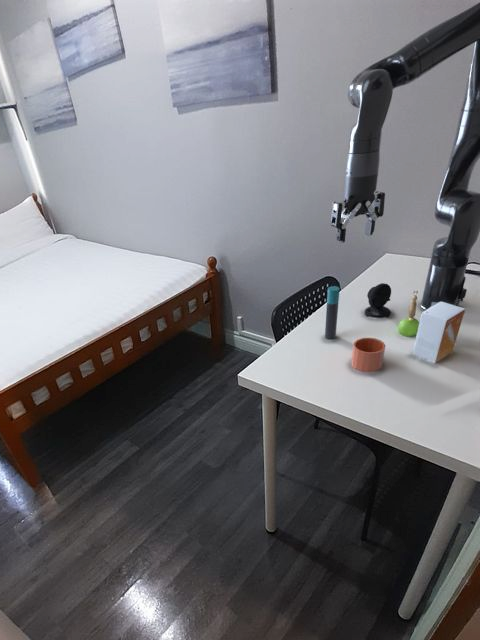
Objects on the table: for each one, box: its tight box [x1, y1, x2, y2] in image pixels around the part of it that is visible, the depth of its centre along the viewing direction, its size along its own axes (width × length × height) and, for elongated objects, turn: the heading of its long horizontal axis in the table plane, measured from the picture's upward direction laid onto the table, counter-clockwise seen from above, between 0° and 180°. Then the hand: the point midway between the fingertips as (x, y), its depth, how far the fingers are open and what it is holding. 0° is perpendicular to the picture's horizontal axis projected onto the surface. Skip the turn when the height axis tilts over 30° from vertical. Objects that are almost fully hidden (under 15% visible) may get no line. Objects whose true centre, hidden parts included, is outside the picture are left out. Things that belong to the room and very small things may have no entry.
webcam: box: [364, 282, 392, 319], centre depth 123 cm, size 8×8×10 cm
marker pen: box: [324, 285, 341, 341], centre depth 114 cm, size 3×3×16 cm
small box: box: [412, 302, 466, 364], centre depth 102 cm, size 8×6×13 cm
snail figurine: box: [397, 290, 420, 338], centre depth 111 cm, size 5×6×12 cm
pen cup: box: [350, 337, 386, 373], centre depth 104 cm, size 7×7×6 cm
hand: (355, 238), depth 108 cm, fingers open, 8 cm apart
